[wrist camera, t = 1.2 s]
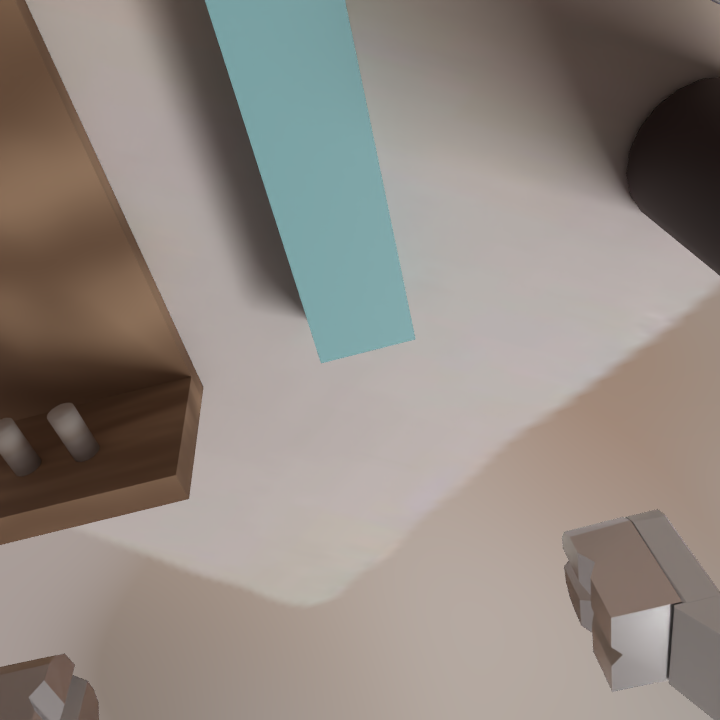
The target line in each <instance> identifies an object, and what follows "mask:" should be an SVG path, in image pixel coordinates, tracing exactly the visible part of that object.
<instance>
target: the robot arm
mask: <svg viewBox="0 0 720 720" xmlns="http://www.w3.org/2000/svg"><path fill="white" fill-rule="evenodd" d="M562 543H563V549H564V552H565V554H566V556H567V558H568V560H569V561H568V562H567V564H566V565H565V566H564V570H565V578H566V584H567V588H568V592H569V596H570V599H571V602H572V604H573V607H574V610H575V612H576V614H577V617H578V619H579V621H580V623H581V625H582V626H583V627H584V628H586V629H587V630H589V631H590V632H592V636H593V652H594V654H595V656H596V658H597V660H598V663H599V665H600V667H601V669H602V671H603V673H604V675H605V677H606V680H607V682H608V684H609V686H610V688H611V690H612V691H618V690H623V689H628V688H633V687H638V686H643V685H647V684H652V683H657V682H662V681H666V680H669V684H670V685H671V686H673V687H674V688H675V689H676V690H678V691H679V692H680V693H681V694H683V695H684V696H685V697H686V698H688V699H689V700H690V701H692V702H693V703H694V704H695V705H696V706H698V707H699V708H700V709H701V710H703V711H704V712H705V713H706V714H708V715H709V716H710V717H711V718H713V719H714V720H720V591H719V590H718V588H717V587H716V586H715V584H714V583H713V581H712V580H711V579H710V577H709V576H708V574H707V573H706V572H705V570H704V569H703V567H702V566H701V565H700V563H699V562H698V561H697V559H696V558H695V556H694V555H693V553H692V552H691V551H690V549H689V548H688V546H687V545H686V544H685V542H684V541H683V539H682V538H681V536H680V535H679V534H678V532H677V531H676V530H675V528H674V527H673V525H672V524H671V522H670V521H669V520H668V518H667V517H666V515H665V514H664V513H663V512H661V511H660V510H658V509H657V510H652V511H648V512H644V513H640V514H636V515H632V516H628V517H625V518H624V517H620V518H617V519H613V520H609V521H605V522H601V523H597V524H593V525H589V526H586V527H582V528H578V529H574V530H570V531H566V532H564V533H563V536H562ZM74 667H75V664H74V663H73V662H72V661H71V660H70V659H69V658H68V656H67V655H66V654H60V655H55V656H51V657H46V658H41V659H36V660H31V661H27V662H22V663H17V664H12V665H8V666H4V667H0V720H99V702H98V699H97V696H96V694H95V691H94V689H93V687H92V686H91V685H90V683H89V682H88V681H87V680H84V679H82V678H79V677H76V676H74V675H73V671H74Z"/></svg>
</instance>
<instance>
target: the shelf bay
mask: <svg viewBox="0 0 720 720" xmlns="http://www.w3.org/2000/svg"><path fill="white" fill-rule="evenodd" d="M202 394H203V386H202V383H201V381H200V379H199V377H198V375H197V373H196V370H195V368H194V366H193V364H192V362H191V360H190V357H189V355H188V353H187V351H186V349H185V347H184V344H183V342H182V340H181V338H180V336H179V334H178V331H177V329H176V327H175V325H174V323H173V321H172V318H171V316H170V314H169V312H168V310H167V307H166V305H165V303H164V301H163V299H162V297H161V294H160V292H159V290H158V288H157V286H156V284H155V281H154V279H153V277H152V275H151V273H150V271H149V268H148V266H147V264H146V262H145V260H144V258H143V255H142V253H141V251H140V249H139V247H138V245H137V242H136V240H135V238H134V236H133V234H132V232H131V229H130V227H129V225H128V223H127V221H126V219H125V216H124V214H123V212H122V210H121V208H120V206H119V203H118V201H117V199H116V197H115V195H114V193H113V190H112V188H111V186H110V184H109V182H108V180H107V177H106V175H105V173H104V171H103V169H102V166H101V164H100V162H99V160H98V158H97V156H96V153H95V151H94V149H93V147H92V145H91V143H90V140H89V138H88V136H87V134H86V132H85V130H84V127H83V125H82V123H81V121H80V119H79V117H78V114H77V112H76V110H75V108H74V106H73V104H72V101H71V99H70V97H69V95H68V93H67V91H66V88H65V86H64V84H63V82H62V80H61V78H60V75H59V73H58V71H57V69H56V67H55V65H54V62H53V60H52V58H51V56H50V54H49V52H48V49H47V47H46V45H45V43H44V41H43V38H42V36H41V34H40V32H39V30H38V28H37V25H36V23H35V21H34V19H33V17H32V15H31V12H30V10H29V8H28V6H27V4H26V2H25V0H0V545H2V544H6V543H10V542H14V541H18V540H22V539H26V538H30V537H34V536H39V535H43V534H47V533H51V532H55V531H59V530H63V529H67V528H71V527H76V526H80V525H84V524H88V523H92V522H96V521H100V520H104V519H108V518H112V517H117V516H121V515H125V514H129V513H133V512H137V511H141V510H145V509H149V508H153V507H157V506H162V505H166V504H170V503H174V502H178V501H182V500H186V499H189V494H190V486H191V478H192V471H193V463H194V455H195V448H196V440H197V432H198V424H199V417H200V409H201V401H202Z"/></svg>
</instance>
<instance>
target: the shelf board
mask: <svg viewBox="0 0 720 720" xmlns="http://www.w3.org/2000/svg"><path fill="white" fill-rule="evenodd" d="M205 2H206V5H207V9H208V12H209V15H210V18H211V21H212V24H213V27H214V30H215V33H216V37H217V40H218V43H219V46H220V49H221V52H222V55H223V58H224V62H225V65H226V68H227V71H228V74H229V77H230V80H231V83H232V87H233V90H234V93H235V96H236V99H237V102H238V105H239V108H240V111H241V115H242V118H243V121H244V124H245V127H246V130H247V133H248V136H249V140H250V143H251V146H252V149H253V152H254V155H255V158H256V161H257V165H258V168H259V171H260V174H261V177H262V180H263V183H264V186H265V189H266V193H267V196H268V199H269V202H270V205H271V208H272V211H273V214H274V218H275V221H276V224H277V227H278V230H279V233H280V236H281V239H282V243H283V246H284V249H285V252H286V255H287V258H288V261H289V264H290V267H291V271H292V274H293V277H294V280H295V283H296V286H297V289H298V292H299V296H300V299H301V302H302V305H303V308H304V311H305V314H306V317H307V321H308V324H309V327H310V330H311V333H312V336H313V339H314V342H315V345H316V349H317V352H318V355H319V358H320V361H321V363H324V362H328V361H332V360H336V359H340V358H344V357H348V356H352V355H356V354H360V353H364V352H367V351H371V350H375V349H379V348H383V347H387V346H391V345H395V344H399V343H403V342H407V341H411V340H415V335H414V330H413V325H412V320H411V316H410V311H409V306H408V301H407V296H406V292H405V287H404V282H403V277H402V272H401V267H400V263H399V258H398V253H397V248H396V243H395V239H394V234H393V229H392V224H391V219H390V215H389V210H388V205H387V200H386V195H385V191H384V186H383V181H382V176H381V171H380V166H379V162H378V157H377V152H376V147H375V142H374V138H373V133H372V128H371V123H370V118H369V114H368V109H367V104H366V99H365V94H364V89H363V85H362V80H361V75H360V70H359V65H358V61H357V56H356V51H355V46H354V41H353V37H352V32H351V27H350V22H349V17H348V13H347V8H346V3H345V0H205Z"/></svg>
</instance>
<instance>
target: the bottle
mask: <svg viewBox="0 0 720 720" xmlns="http://www.w3.org/2000/svg"><path fill="white" fill-rule="evenodd" d="M626 174H627V179H628V185H629V190H630V194H631V196H632V198H633V199H634V201H635V203H636V204H637V206H638V207H639V209H640V210H641V212H643V213H644V214H645V215H646V216H648V217H649V218H650V219H651V220H652V221H654V222H655V223H656V224H657V225H659V226H660V227H661V228H662V229H663V230H665V231H666V232H667V233H668V234H670V235H671V236H672V237H673V238H674V239H676V240H677V241H678V242H679V243H681V244H682V245H683V246H684V247H685V248H687V249H688V250H689V251H690V252H692V253H693V254H694V255H695V256H696V257H698V258H699V259H700V260H701V261H703V262H704V263H705V264H706V265H707V266H709V267H710V268H711V269H712V270H714V271H715V272H716V273H717V274H718V275H720V77H718V78H710V79H702V80H699V81H697V82H695V83H693V84H690V85H688V86H686V87H684V88H681V89H679V90H677V91H676V92H675V93H674V94H672V95H671V96H670V97H669V98H667V99H666V100H665V101H664V102H662V103H661V104H660V105H659V106H657V107H656V108H655V110H654V111H653V112H652V114H651V115H650V116H649V117H648V119H647V120H646V121H645V123H644V124H643V125H642V126H641V128H640V130H639V132H638V134H637V136H636V138H635V141H634V143H633V145H632V147H631V150H630V153H629V160H628V166H627V173H626Z"/></svg>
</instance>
